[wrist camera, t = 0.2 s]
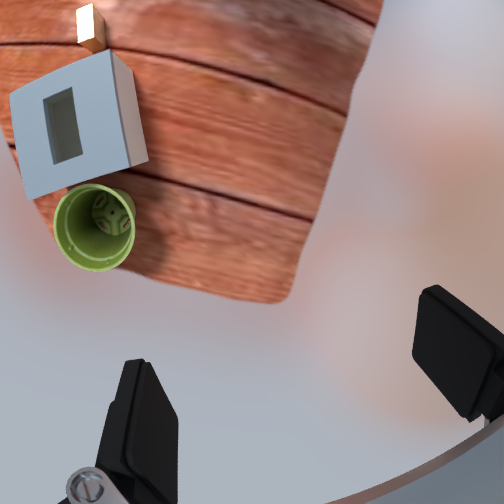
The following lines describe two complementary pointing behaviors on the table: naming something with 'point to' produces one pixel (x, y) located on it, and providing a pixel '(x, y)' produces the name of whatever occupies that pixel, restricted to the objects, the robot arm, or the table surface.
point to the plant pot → (95, 226)
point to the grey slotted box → (77, 124)
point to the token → (91, 28)
